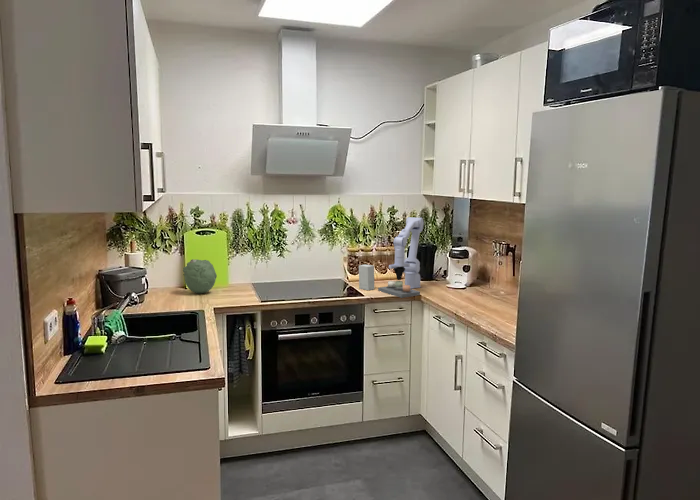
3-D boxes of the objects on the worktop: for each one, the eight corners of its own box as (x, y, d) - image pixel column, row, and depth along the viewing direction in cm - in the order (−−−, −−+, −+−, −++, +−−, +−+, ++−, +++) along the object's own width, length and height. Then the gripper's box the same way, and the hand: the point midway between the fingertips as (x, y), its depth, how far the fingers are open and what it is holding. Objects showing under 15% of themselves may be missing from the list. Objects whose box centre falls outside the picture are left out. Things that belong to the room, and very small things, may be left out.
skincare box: (374, 289, 311) (375, 265, 309) (367, 290, 307) (368, 266, 305) (364, 287, 317) (365, 263, 315) (358, 288, 313) (358, 264, 311)
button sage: (399, 285, 305) (399, 280, 304) (404, 286, 301) (404, 281, 301) (393, 286, 302) (393, 281, 302) (398, 287, 299) (398, 282, 298)
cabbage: (215, 295, 288) (214, 261, 285) (180, 296, 285) (179, 261, 283) (219, 290, 303) (218, 256, 300) (186, 290, 301) (185, 257, 298)
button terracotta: (406, 289, 299) (407, 284, 299) (411, 291, 295) (411, 286, 295) (401, 290, 297) (401, 285, 296) (406, 291, 293) (406, 286, 293)
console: (396, 288, 315) (396, 284, 315) (419, 295, 297) (420, 291, 297) (378, 290, 307) (378, 287, 307) (401, 297, 289) (401, 294, 289)
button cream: (391, 285, 311) (392, 280, 310) (396, 286, 307) (396, 281, 307) (386, 286, 308) (386, 281, 308) (390, 287, 304) (390, 282, 304)
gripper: (404, 255, 307) (404, 277, 308) (385, 256, 299) (385, 279, 300) (412, 256, 301) (411, 279, 303) (393, 258, 293) (392, 281, 294)
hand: (399, 279), depth 301 cm, fingers closed
